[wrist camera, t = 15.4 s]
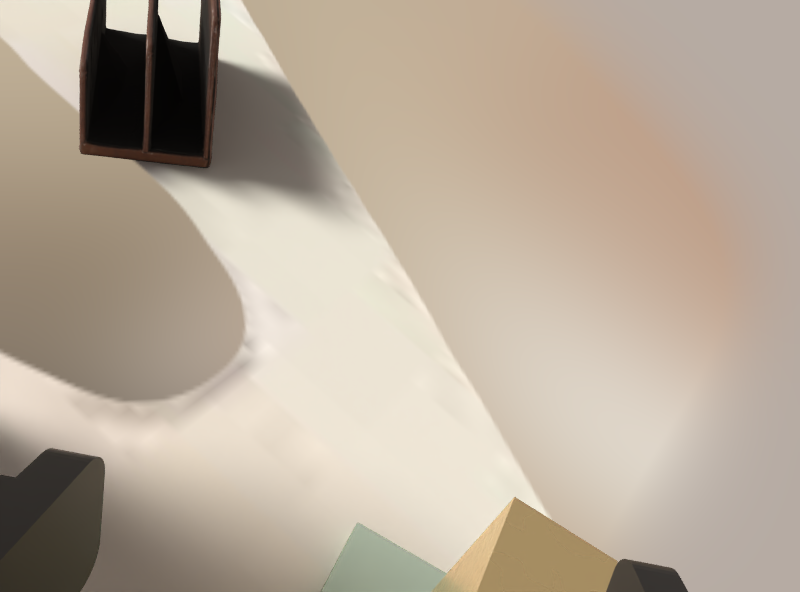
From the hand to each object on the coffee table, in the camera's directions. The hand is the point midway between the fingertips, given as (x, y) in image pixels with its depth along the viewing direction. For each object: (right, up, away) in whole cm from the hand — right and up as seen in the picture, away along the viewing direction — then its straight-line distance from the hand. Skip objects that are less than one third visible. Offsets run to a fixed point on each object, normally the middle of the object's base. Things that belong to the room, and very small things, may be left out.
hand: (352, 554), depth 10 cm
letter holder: (-22, +22, +49) cm, 58 cm away
